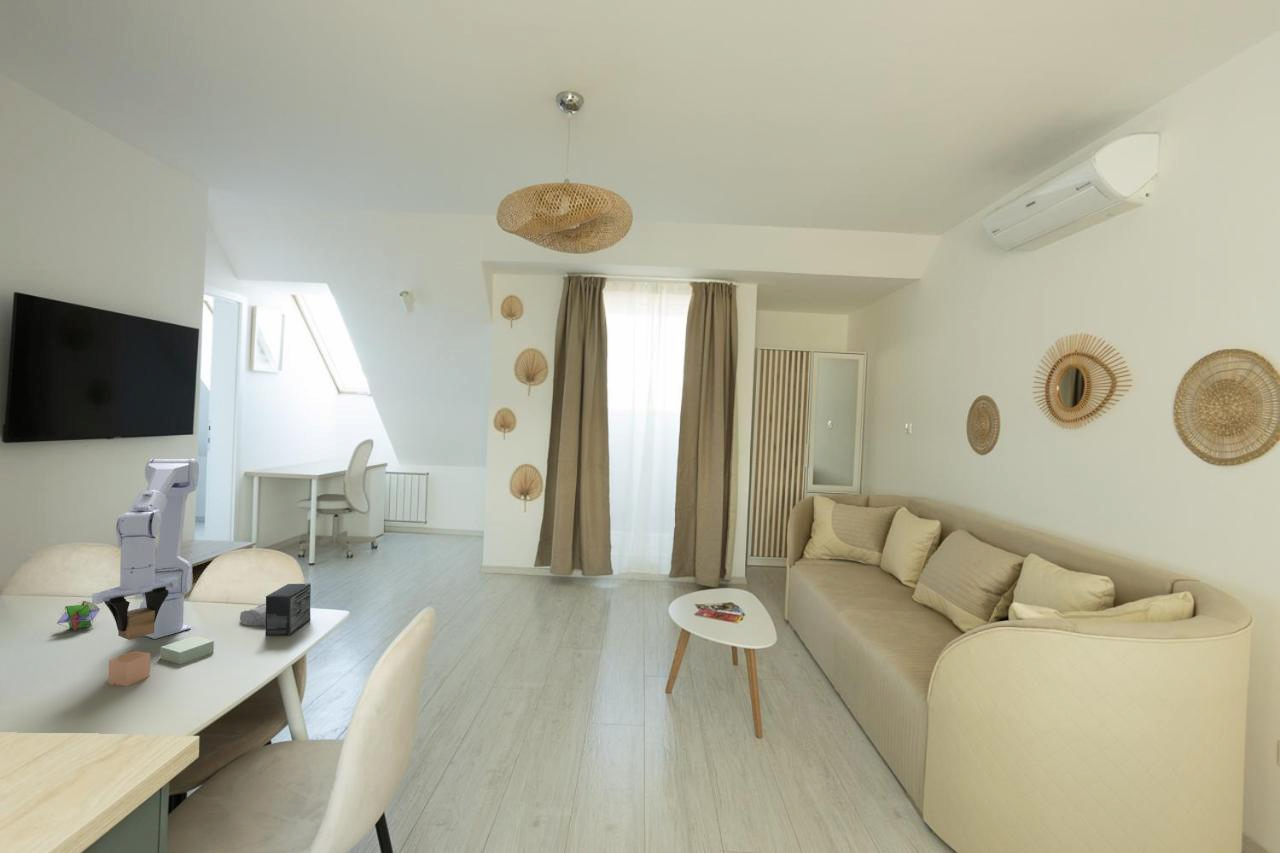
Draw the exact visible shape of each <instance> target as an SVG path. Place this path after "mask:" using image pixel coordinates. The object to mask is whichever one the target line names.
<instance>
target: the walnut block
mask: <svg viewBox="0 0 1280 853" xmlns="http://www.w3.org/2000/svg"><path fill="white" fill-rule="evenodd" d="M154 623H155V611H154V610H151V609H148V608H145V607H143V608H140V607H139V608H136V609H131V610H128V612H127V628H126V631H123V632H121V631H119V630H118V629H117V631H118V632H117V633H118V635H117V636H119V637H120V638H122V639H125V640H129V641H130V640H134V639H137V638H141V637H144V636H145V635H148V634H152V633H154ZM145 637H146V636H145Z"/></svg>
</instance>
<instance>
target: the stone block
mask: <svg viewBox="0 0 1280 853" xmlns="http://www.w3.org/2000/svg"><path fill="white" fill-rule="evenodd" d="M239 620H240V621H239V622H240V624H243V625H247V626H248V625H249V626H260V627H261V626H262V627H266V602H265V603H263V604H259V605H258V606H255V607H254V608H250V609H248V610H243V611H241V612H240V615H239Z"/></svg>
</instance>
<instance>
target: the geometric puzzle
mask: <svg viewBox="0 0 1280 853" xmlns="http://www.w3.org/2000/svg"><path fill="white" fill-rule="evenodd" d="M75 604H76V603H74V605H66V606H64V610H65V611H64V613H62V615H61V616H60V617H59V619H58V620H57V622H56V624H58V625H59V626H63V627H64V628H66V629H68V630H70V631H72V632H73V633H75V632H77V631H79V629H80V628H81V629H82V628H83V627H92V626H93V624H92V622H94V620H95V618H96V617H97V615H98V614H99V612H100V610H101V609H100V607H98V605H97V604H95V603H92V601H91V602H89V601H87V600H86V601H85V600H82V602H78V604H76V605H75ZM64 623H68V626H67V625H64Z"/></svg>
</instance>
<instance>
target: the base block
mask: <svg viewBox="0 0 1280 853" xmlns="http://www.w3.org/2000/svg"><path fill="white" fill-rule="evenodd" d="M214 644H215V641H214V640H211V639H207V638H205V637H200V636H196V635H193V636H190V637H187V638H184V639H181V640H179V641H178V640H177V641H174V642H172V643H169V644H166V645H163V646H160V652H159V653H160V654H159V655H160V659H161V660H165V661H168V662H171V663H174V664H178V665H182V664H184V663H185V664H186V663H187V662H190V661H193V660H196V659H199V658H203V657H205V656H207V655H209V654H210V655H211V654H212V653H214V652H215V651H214V648H215V647H214Z"/></svg>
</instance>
